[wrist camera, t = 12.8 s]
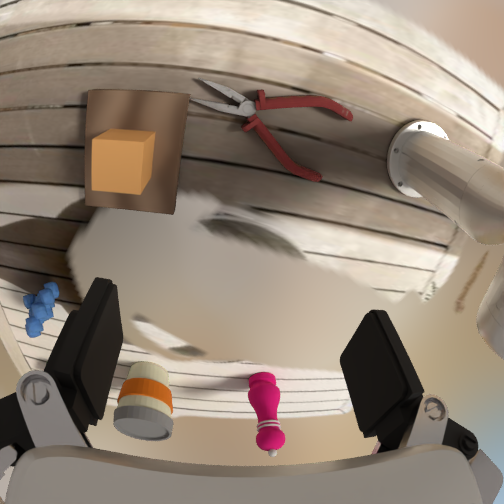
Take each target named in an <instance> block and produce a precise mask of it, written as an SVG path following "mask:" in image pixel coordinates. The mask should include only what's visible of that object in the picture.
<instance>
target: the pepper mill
mask: <svg viewBox="0 0 504 504" xmlns="http://www.w3.org/2000/svg"><path fill="white" fill-rule="evenodd" d="M249 387H250V390H249V392H248V398H249V401H250V404H251V405H252V407H253V408H254V410H255V412H256V414H257V417H258V424H257V431H258V432H259V433H258V434H257V436H256V443H257V445H258V447H259V448H261V449H262V450H265V451H269V452H268V454H269V456H272V457H274V456H276V455H277V451H276V450H277V449H279V448H281V447H282V446H283V445H284V443H285V435H284V433H283V432H282V431H281V430H280V429H281V426H280V422H279V421H278V419H277V407H278V404H279V401H280V390H279V388H278V387H277V386H276V380H275V376H274V375H273V374H271V373H268V372H261V373H257V374H254V375H252V376H251V377H250V378H249Z"/></svg>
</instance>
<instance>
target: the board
mask: <svg viewBox="0 0 504 504" xmlns="http://www.w3.org/2000/svg"><path fill="white" fill-rule="evenodd" d="M189 98H190V94H184V93H173V92H161V91H146V90H120V89H94V90H88V100H87V112H86V128H85V164H84V169H85V205H87V206H98V207H108V208H117V209H128V210H137V211H145V212H154V213H164V214H171V215H173V214H174V211H175V206H176V196H177V187H178V178H179V169H180V161H181V153H182V146H183V139H184V132H185V125H186V119H187V112H188V106H189V100H190V99H189ZM109 129H124V130H140V131H153V132H156V133H155V142H154V151H153V162H152V174H151V178H150V180H149V181H148V183H147V185H146V186H145V188H144V190H143V191H142V193H141V195H137V194H127V193H117V192H106V191H94V190H92V139H93V138H95V137H97V136H99V135H100V134H102V133H104V132H106V131H107V130H109Z"/></svg>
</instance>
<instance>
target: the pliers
mask: <svg viewBox="0 0 504 504" xmlns="http://www.w3.org/2000/svg"><path fill="white" fill-rule="evenodd" d="M198 79H199V80H201V81H203V82H205V83H206V84H208V85H210V86H212V87H213V88H215V89H217V90H218V91H220V92H222V93H223V94H225V95H227V96H228V97H230V98H232V99H234V100H235V101H237V102H238V103H240V104H239V106H238V107H237V106H231V105H228V104H226V103H220V102H213V101H206V100H199V99H191V98H189V99H190V100H192V101H195V102H198V103H200V104H203V105H206V106H208V107H211V108H213V109H216V110H218V111H222V112H226V113H231V114H237V115H242V116H246V119H247V120H248V122H246V123H245V124H244V125H242V126H241V128H242V129H243V131H244V132H247V131H249V130H250V129H251V128H253V129H254V130H255V131H256V132H257V134H258V135H259V136H260V137H261V139H262V140H263V141H264V143H265V144H266V145H267V146H268V148H269V149H270V150H271V151H272V153H273V154H274V155H275V157H276V158H277V159H278V161H279V162H280V163H281V164H282V165H283V166H284V167H285V168H286V169H287V170H288V171H290V172H291V173H293V174H295V175H298V176H300V177H303V178H306V179H308V180H311V181H314V182H317V181H320V180H321V179H322V177H323V176H322V175H321V174H320V173H317V172H315V171H313V170H310V169H308V168H306V167H303V166H301V165H299V164H297V163H295V162H294V161H293V160H291V159H290V158H289V157H288V155H287V154H286V153H285V152H284V150H283V149H282V148H281V146H280V145H279V144H278V142H277V141H276V140H275V138H274V137H273V136H272V134H271V133H270V132H269V131H268V129H267V128H266V127H265V125H264V124H263V123H262V122H261V120H260V119H259V118H258V117H257V115H256V114H255V111H256V110H266V109H277V108H292V107H311V106H317V107H325V108H328V109H330V110H332V111H333V112H335V113H337V114H338V115H340V116H342V117H343V118H345V119H347V120H349V121H352V119H353V115H352V113H351V112H350V111H349V110H348V109H346V108H345V107H343V106H342V105H340V104H338V103H337V102H335V101H333V100H332V99H330V98H327V97H322V96H313V95H307V96H286V97H271V98H265V93H264V90H257V93H258V99H256V100H254V102H253V101H250V100H249V99H247V98H245V97H244V96H242V95H241V94H239V93H237V92H236V91H234V90H232V89H231V88H229V87H226V86H223V85H220V84H217V83H214V82H211V81H207V80H204V79H201V78H198Z"/></svg>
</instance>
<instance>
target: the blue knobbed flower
mask: <svg viewBox="0 0 504 504" xmlns="http://www.w3.org/2000/svg"><path fill="white" fill-rule="evenodd" d="M57 297H59V290H58V286H57V284H56V283H55V282H48V283H46V284H44V289H42V290H40V291H39V294H37V296H36V297H35V295H33V294H28V295H25V296H23V301H24V305H25V307H26V308H27V309H30V310H29V318H27V319H26V325H25V327H26V332H27V335H28V336H29V337H30V338H33V337H37V336H39V335H41V333H40V332H41V331H43V330H44V329H43V325H42V323H44V321H46V320H49V318H51V317H54V316H53V311H52V308H53V307H55V304H54V302H55V298H57Z"/></svg>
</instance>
